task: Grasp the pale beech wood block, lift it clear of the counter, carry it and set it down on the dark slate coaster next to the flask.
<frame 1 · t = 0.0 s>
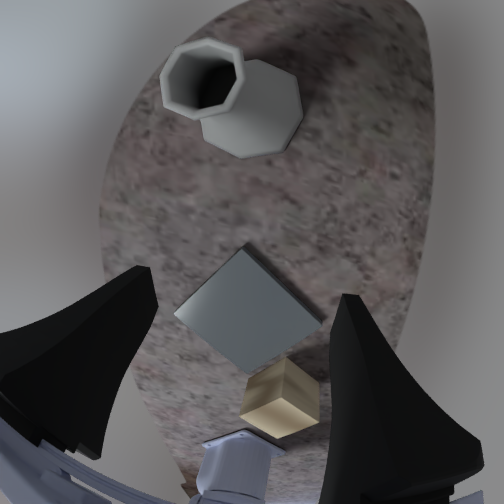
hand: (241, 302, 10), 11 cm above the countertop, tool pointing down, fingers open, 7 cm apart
coaster: (245, 317, 23), on the countertop
flask: (250, 108, 17), on the countertop
block: (283, 380, 26), on the countertop
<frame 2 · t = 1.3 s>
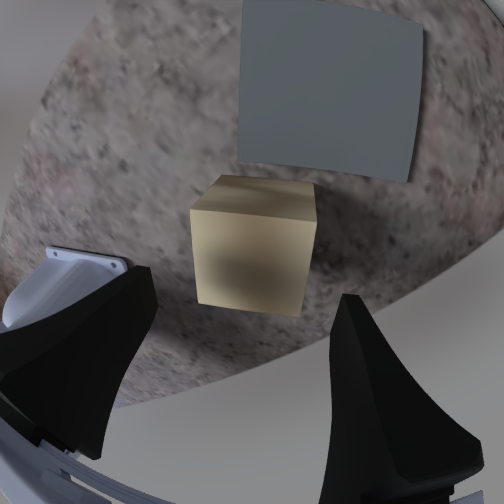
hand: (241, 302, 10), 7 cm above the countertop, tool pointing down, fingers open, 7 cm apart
coaster: (332, 83, 12), on the countertop
block: (264, 219, 16), on the countertop
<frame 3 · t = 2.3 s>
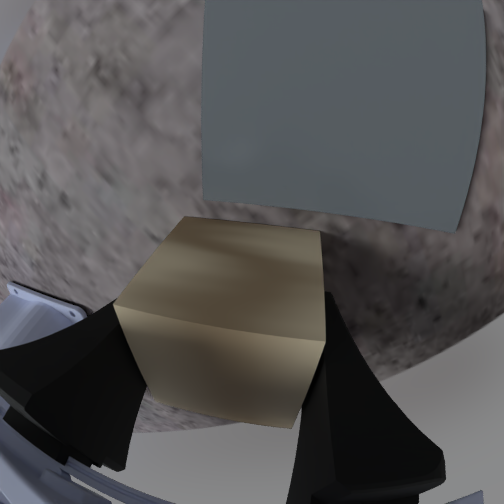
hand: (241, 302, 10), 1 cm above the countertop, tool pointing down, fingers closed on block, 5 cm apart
coaster: (354, 74, 7), on the countertop
block: (247, 278, 11), on the countertop, touching gripper
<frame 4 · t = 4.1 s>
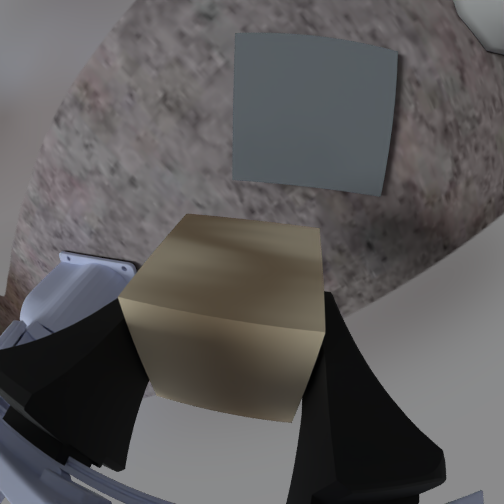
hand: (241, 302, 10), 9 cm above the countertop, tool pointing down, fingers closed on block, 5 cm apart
coaster: (314, 110, 14), on the countertop
flask: (486, 11, 7), on the countertop
block: (248, 275, 12), point 7 cm above the countertop, touching gripper
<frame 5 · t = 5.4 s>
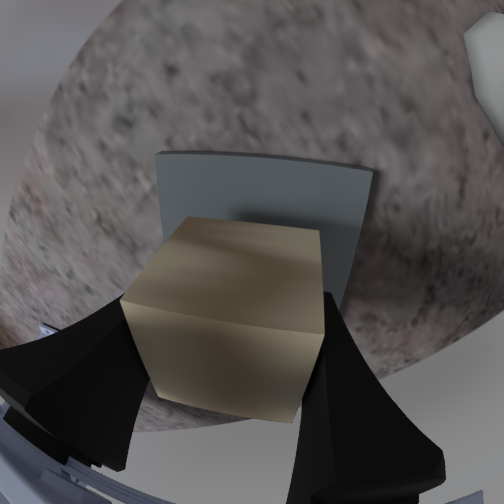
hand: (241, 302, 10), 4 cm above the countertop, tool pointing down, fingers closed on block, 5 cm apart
coaster: (256, 248, 13), on the countertop
block: (249, 277, 12), point 2 cm above the countertop, touching gripper
when the fingers open (3 cm above the countertop, at t = 6.1 s): block stays where it is, resting on coaster.
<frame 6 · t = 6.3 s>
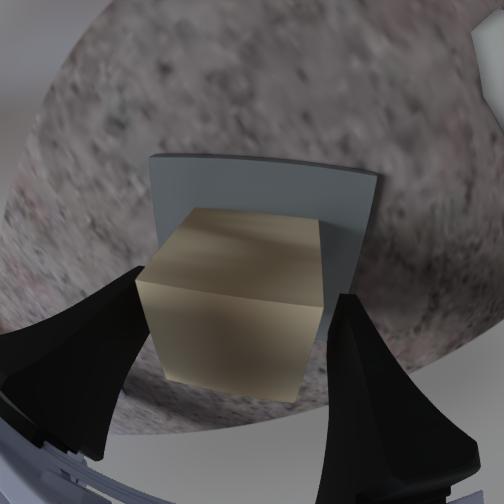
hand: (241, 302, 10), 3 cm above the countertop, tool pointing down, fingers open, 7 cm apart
coaster: (255, 255, 13), on the countertop
block: (252, 264, 12), point 1 cm above the countertop, touching coaster
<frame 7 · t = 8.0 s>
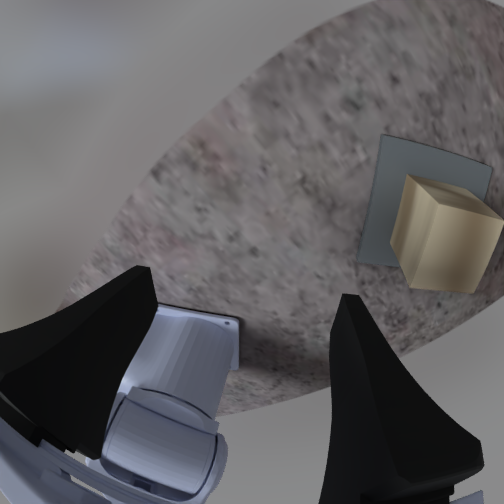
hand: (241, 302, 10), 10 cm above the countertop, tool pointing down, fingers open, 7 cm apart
coaster: (427, 210, 17), on the countertop
block: (429, 215, 16), point 1 cm above the countertop, touching coaster
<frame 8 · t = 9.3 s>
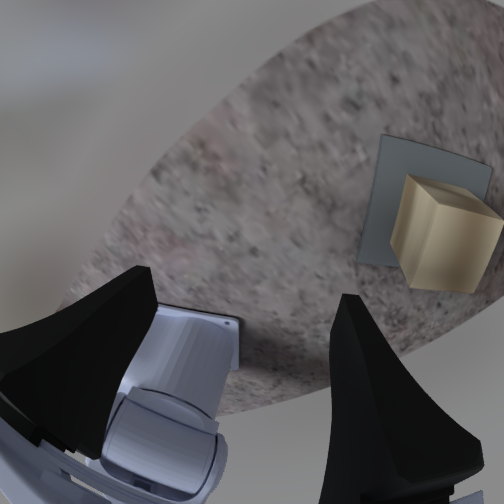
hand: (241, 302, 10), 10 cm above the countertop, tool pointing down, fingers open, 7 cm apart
coaster: (427, 210, 17), on the countertop
block: (429, 215, 16), point 1 cm above the countertop, touching coaster
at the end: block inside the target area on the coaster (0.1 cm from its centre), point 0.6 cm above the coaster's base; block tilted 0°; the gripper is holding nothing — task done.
